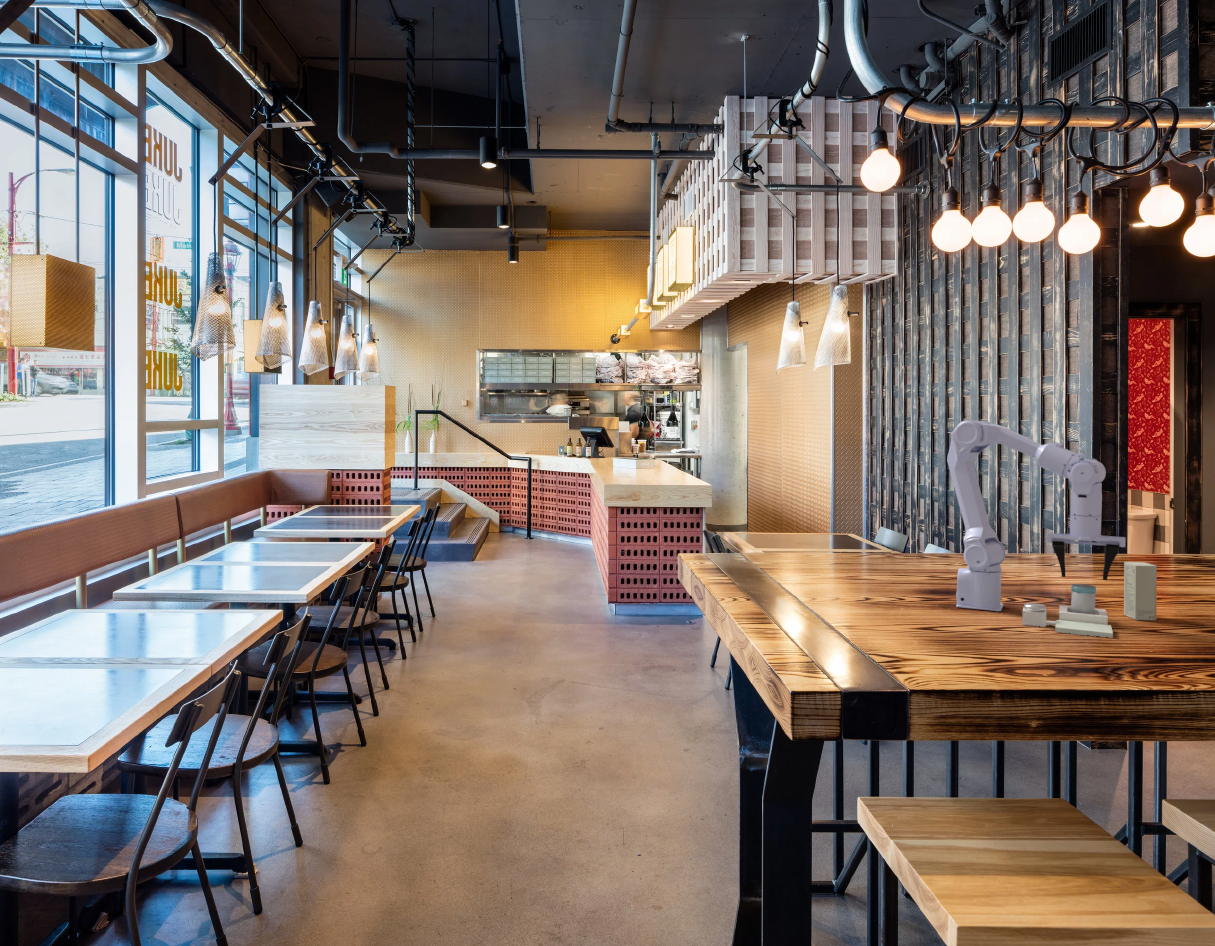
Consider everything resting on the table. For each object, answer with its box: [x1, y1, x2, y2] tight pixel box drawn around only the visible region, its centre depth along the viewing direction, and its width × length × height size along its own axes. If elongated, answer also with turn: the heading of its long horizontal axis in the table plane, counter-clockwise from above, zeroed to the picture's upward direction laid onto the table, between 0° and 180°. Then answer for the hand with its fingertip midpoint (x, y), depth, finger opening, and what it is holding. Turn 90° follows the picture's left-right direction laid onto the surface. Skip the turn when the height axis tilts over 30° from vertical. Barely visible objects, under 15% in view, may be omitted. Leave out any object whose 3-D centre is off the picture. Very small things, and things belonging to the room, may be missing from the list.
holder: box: [1021, 604, 1109, 628], centre depth 172 cm, size 16×14×3 cm
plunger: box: [1023, 602, 1046, 612], centre depth 171 cm, size 4×4×4 cm
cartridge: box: [1070, 583, 1097, 615], centre depth 172 cm, size 5×5×8 cm
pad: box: [1054, 619, 1114, 639], centre depth 165 cm, size 10×8×1 cm
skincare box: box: [1123, 561, 1158, 622], centre depth 177 cm, size 6×4×12 cm
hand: (1084, 577), depth 172 cm, fingers open, 7 cm apart
